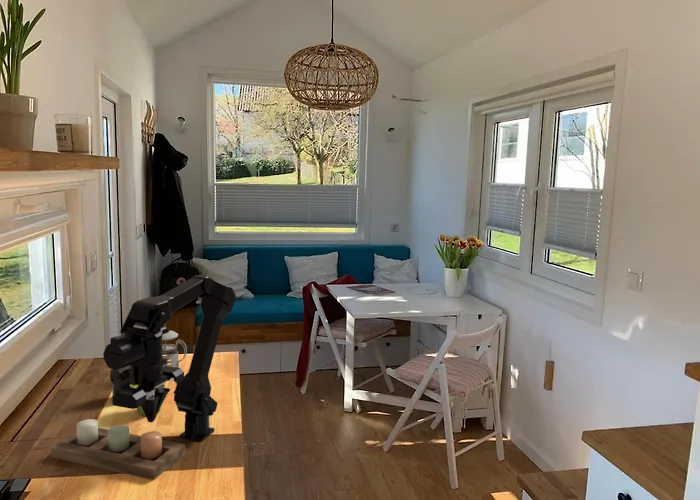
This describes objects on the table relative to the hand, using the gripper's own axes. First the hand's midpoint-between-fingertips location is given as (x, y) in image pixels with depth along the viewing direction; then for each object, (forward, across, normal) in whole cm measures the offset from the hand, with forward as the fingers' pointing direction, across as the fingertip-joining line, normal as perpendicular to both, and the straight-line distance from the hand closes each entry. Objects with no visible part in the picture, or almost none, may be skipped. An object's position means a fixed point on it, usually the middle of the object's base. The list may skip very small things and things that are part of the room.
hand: (151, 421), depth 129 cm
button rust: (+8, 0, 0) cm, 8 cm away
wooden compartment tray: (+10, 0, -9) cm, 13 cm away
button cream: (+8, 0, -18) cm, 20 cm away
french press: (+10, -48, -29) cm, 57 cm away
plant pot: (+10, -23, -18) cm, 31 cm away
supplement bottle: (+10, -28, -30) cm, 42 cm away
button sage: (+8, 0, -9) cm, 12 cm away
